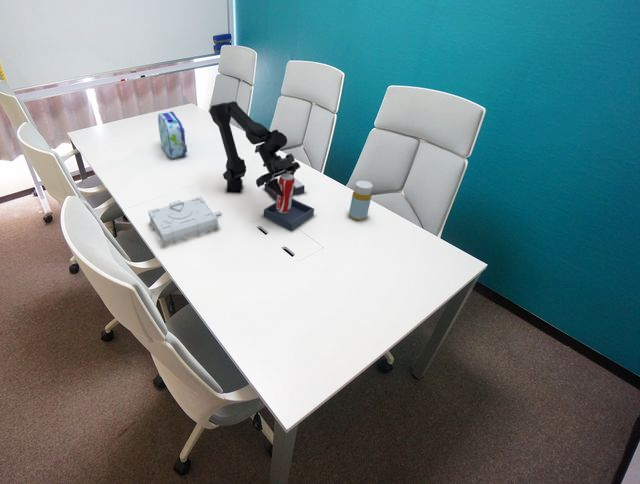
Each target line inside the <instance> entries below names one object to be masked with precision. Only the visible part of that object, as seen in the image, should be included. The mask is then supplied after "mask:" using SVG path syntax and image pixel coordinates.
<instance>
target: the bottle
mask: <svg viewBox="0 0 640 484" xmlns="http://www.w3.org/2000/svg"><path fill="white" fill-rule="evenodd" d="M373 186H374V185H373V184H372V182H371V181H368V180H358V181H356V182H355V186H354V190H353V192H352V195H351V200H350V205H349V211H348V216H349V217H350V219H352V220H354V221H358V222H359V221H360V222H361V221H364V220H365V219H367V218H368V213H369V210H370V205H371V200H372V190H373Z"/></svg>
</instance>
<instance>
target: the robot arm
mask: <svg viewBox="0 0 640 484" xmlns="http://www.w3.org/2000/svg"><path fill="white" fill-rule="evenodd" d="M209 114H210V116H211V119H212V121H213V123H214V124H215V125H216V126H217V127H218V129H219V133H220V138H221V141H222V144H223V148H224V151H225V155H226V163H225V171H224V172H223V173H222V177H223V179H224V180H225V181H226V188H227V189H226V193H231V194H232V193H233V194H234V193H236V194H240V193H242V190H243V187H244V184H243V178H244V177H246V176H245V175H246V172H247V166H246V162H245V159H244V158H241V157H240V156H239V153H238V150H237V147H236V143H235V139H234V138H235V137H234V135H233V132H232V128H231V119H232V120H234V121H235V123H236V124H238V125H239V126H240V128H241V129H242V130H243V131H244V132H245V138H246V139H247V140H248V142H249V143H250V144H251V145H254V146H255V149H254V153H255V154H257V153H258V154H259V156H260V158H261V160H262V162H263V164H262V166H263V168H266V169H267V173H265V174H262V175H261V176H259V177H258V178H256V179H255V184H256V186H257V188H259V187H262V186H264V187H265V186H267V187H269V188H270V189H272V190H273V191H275V192H276V193H277V194H278V195H280V196H281V197H283V196H284V195H283V194H282V192H281V189H280V186H279V184H278V179H279V178H278V177H280V176H281V174H283V173H289V174H292V175H293V176H294V177H295V173H297V170H299V169H300V168H301V165H300V163H299V162H297V161H295V156H294V155H293V153H288V154H285V157H283V158H282V156H281V155H278V154H277V153H278V152H279V151H280V150H282V149H283V148H284V147H285V146H287V144H288V138H287V136H286V135H285V134H284V133H283V132H281V131H279V130H278V128H276V129H273V130H272V131H271V130H269V129H268V128H267V127H266V126H265V125H263V124H262V123H260V122H256V121H254V120H253V119H252V118H251V117H250V115H248V114H247V113H246V112H245V111H244V110H243V109H242V108H241V107H240V106H239V104H238V102H237V101H235V100H234V101H233V100H232V101H229V102H220V103H216V104H212V105H211V106H210V109H209ZM264 184H266V185H264ZM294 191H295V188H293V192H294Z"/></svg>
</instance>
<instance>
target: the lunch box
mask: <svg viewBox="0 0 640 484" xmlns="http://www.w3.org/2000/svg"><path fill="white" fill-rule="evenodd" d="M157 122H158V123H157V125H158V133H159V139H160V144H161V146H162V148H163V150H164V152H165V153H166V155H167V157H169V158H170V159H175V158H177V157H186V155H187V152H188V146H187V144H186V134H185V133H186V131H185V127H184V126H183V123H182V121H181V120H180V119H179V118H178V117H177V116H176V114H175V112H174V111H172V110H171V111H168V112H162V113H158V114H157Z"/></svg>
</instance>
